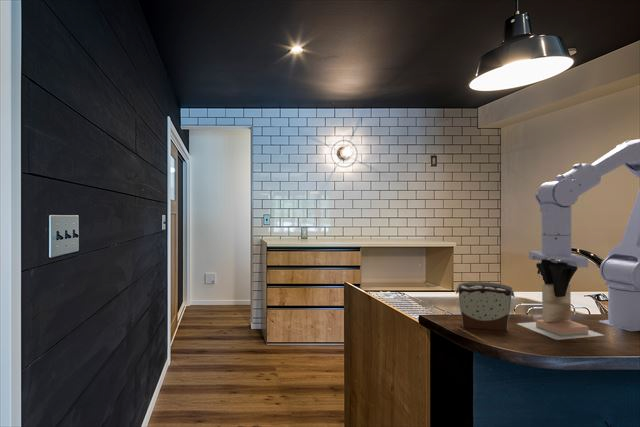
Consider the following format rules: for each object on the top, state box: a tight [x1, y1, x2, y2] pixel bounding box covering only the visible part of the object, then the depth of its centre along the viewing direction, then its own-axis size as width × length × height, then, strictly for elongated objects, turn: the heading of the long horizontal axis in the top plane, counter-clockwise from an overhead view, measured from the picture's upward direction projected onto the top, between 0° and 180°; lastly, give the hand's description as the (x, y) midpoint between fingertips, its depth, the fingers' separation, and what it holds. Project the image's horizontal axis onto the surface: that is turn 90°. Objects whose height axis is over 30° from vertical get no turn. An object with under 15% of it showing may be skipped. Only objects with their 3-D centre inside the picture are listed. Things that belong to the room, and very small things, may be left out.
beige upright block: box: [541, 283, 572, 322], centre depth 90 cm, size 6×2×8 cm, turn 103°
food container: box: [455, 281, 516, 331], centre depth 93 cm, size 12×6×10 cm, turn 74°
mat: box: [516, 321, 606, 341], centre depth 90 cm, size 12×12×1 cm
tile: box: [535, 318, 589, 336], centre depth 89 cm, size 7×2×7 cm
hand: (556, 295), depth 90 cm, fingers closed on beige upright block, 1 cm apart
